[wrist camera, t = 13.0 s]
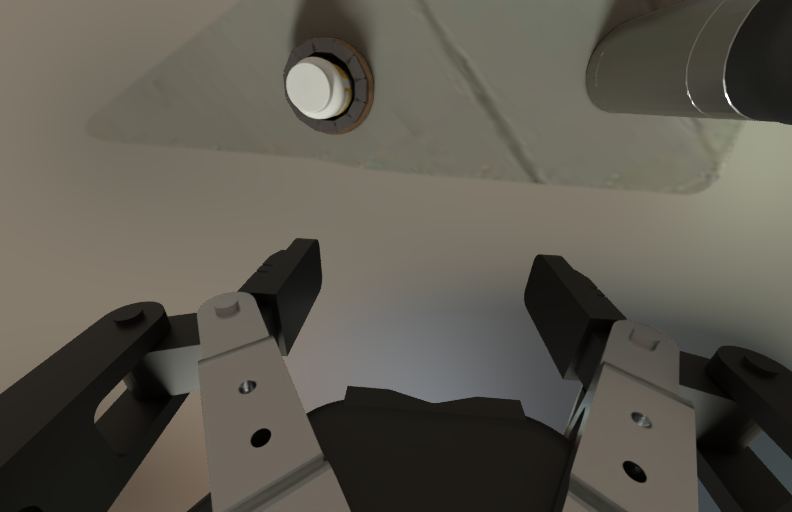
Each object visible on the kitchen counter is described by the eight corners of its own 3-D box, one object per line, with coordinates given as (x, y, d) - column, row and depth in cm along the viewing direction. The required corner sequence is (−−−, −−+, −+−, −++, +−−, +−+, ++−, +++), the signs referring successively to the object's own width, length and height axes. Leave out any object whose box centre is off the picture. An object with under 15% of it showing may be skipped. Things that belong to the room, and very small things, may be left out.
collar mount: (375, 41, 34) (371, 34, 30) (373, 136, 38) (369, 139, 35) (287, 36, 34) (273, 28, 30) (295, 131, 38) (284, 134, 35)
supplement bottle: (302, 70, 34) (267, 60, 26) (346, 58, 34) (326, 44, 25) (317, 120, 37) (290, 127, 28) (359, 110, 36) (345, 113, 28)
